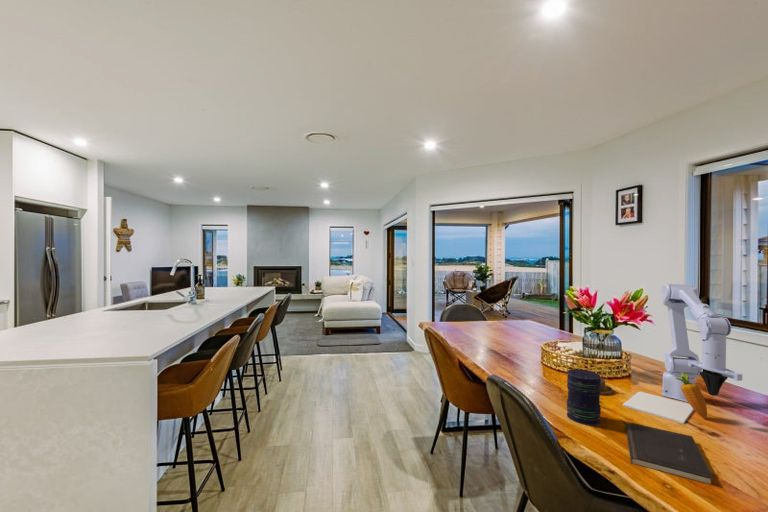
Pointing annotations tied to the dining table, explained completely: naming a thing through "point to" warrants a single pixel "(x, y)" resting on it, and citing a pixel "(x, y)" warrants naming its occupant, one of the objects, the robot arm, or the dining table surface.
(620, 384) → the dining table surface
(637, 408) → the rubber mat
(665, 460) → the hardcover book
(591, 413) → the storage jar
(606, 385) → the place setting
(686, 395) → the carrot
